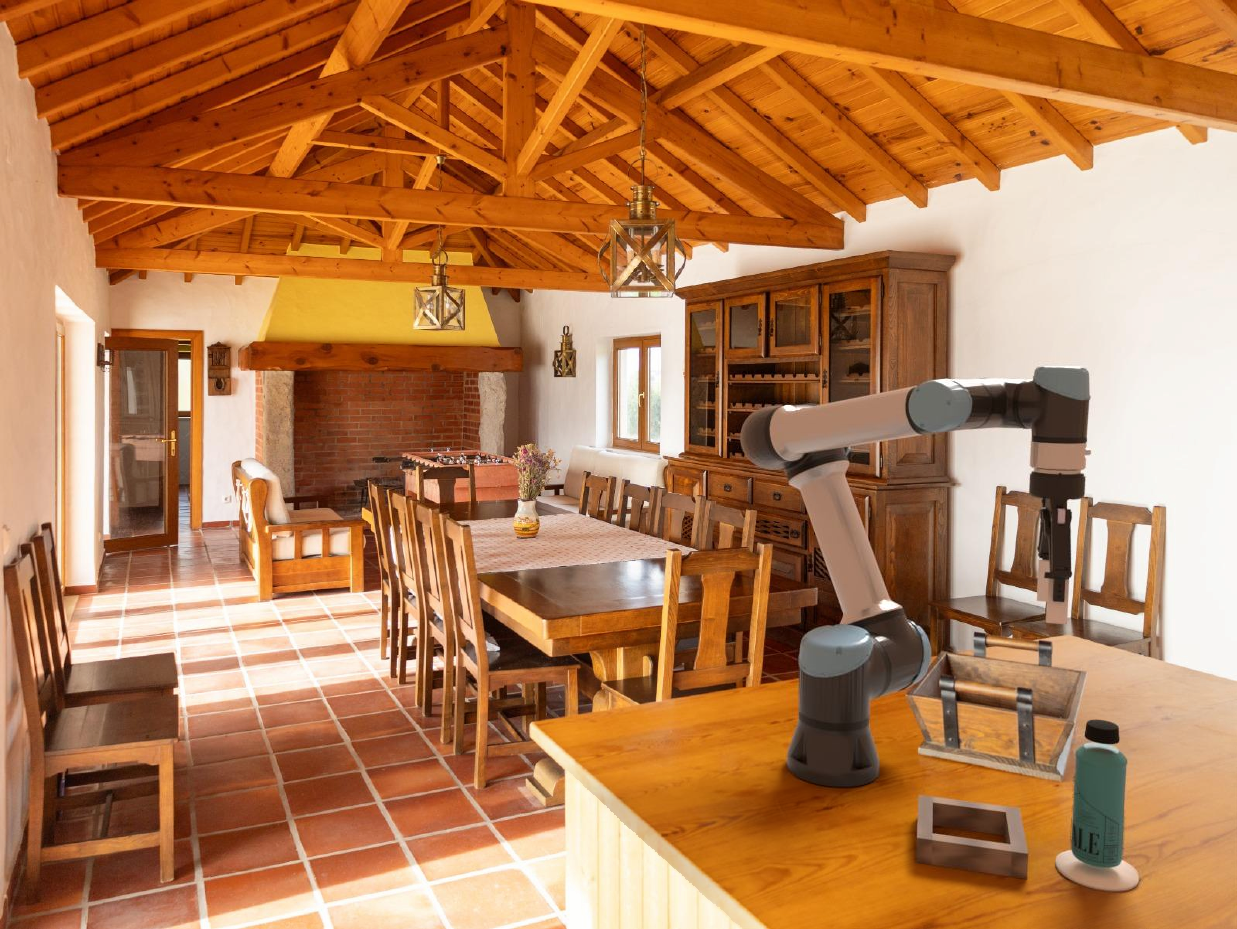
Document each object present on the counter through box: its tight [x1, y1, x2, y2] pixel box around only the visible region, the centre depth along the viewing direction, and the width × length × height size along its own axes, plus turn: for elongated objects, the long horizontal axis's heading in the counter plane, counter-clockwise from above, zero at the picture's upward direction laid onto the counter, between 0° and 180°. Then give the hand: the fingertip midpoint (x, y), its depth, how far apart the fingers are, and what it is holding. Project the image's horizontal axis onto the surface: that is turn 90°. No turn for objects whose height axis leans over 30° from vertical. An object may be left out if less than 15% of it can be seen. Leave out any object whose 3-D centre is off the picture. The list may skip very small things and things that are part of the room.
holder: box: [915, 794, 1029, 880], centre depth 136 cm, size 14×14×4 cm
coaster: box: [1055, 849, 1140, 893], centre depth 130 cm, size 10×10×1 cm
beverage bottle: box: [1069, 719, 1128, 868], centre depth 129 cm, size 6×7×20 cm
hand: (1051, 611), depth 145 cm, fingers open, 13 cm apart
